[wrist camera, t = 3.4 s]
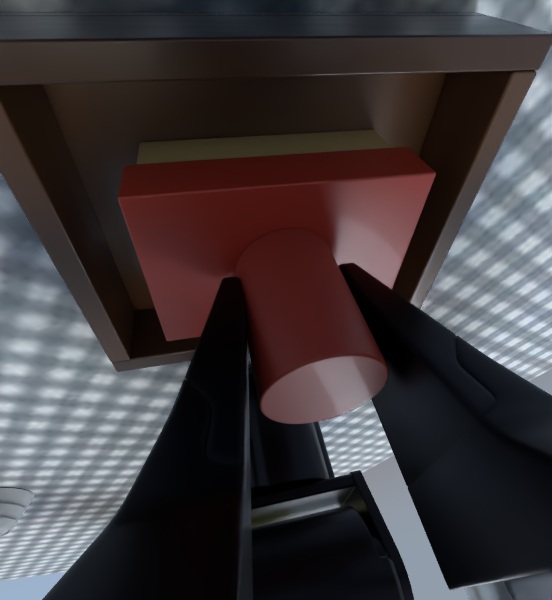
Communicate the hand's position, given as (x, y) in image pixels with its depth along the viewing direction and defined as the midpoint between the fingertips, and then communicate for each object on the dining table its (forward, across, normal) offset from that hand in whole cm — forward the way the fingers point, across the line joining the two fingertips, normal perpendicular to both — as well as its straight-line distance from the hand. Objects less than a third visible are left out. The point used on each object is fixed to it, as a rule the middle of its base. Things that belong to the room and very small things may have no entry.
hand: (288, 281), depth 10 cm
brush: (+4, 0, 0) cm, 4 cm away
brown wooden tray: (+4, 0, 0) cm, 4 cm away
